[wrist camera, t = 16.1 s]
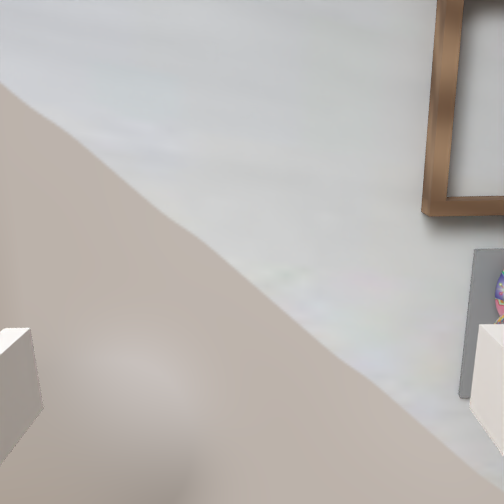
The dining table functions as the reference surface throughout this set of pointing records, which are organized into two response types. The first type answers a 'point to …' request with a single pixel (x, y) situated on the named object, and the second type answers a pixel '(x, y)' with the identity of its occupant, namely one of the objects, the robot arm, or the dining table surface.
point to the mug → (500, 298)
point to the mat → (479, 308)
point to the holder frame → (447, 122)
